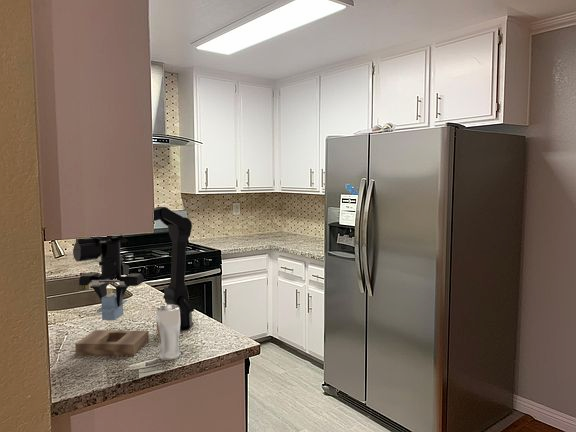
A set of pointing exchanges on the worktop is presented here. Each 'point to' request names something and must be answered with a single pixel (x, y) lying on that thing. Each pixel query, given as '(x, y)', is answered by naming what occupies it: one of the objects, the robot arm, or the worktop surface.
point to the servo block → (111, 307)
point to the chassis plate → (112, 342)
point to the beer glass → (168, 331)
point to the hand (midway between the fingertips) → (112, 306)
